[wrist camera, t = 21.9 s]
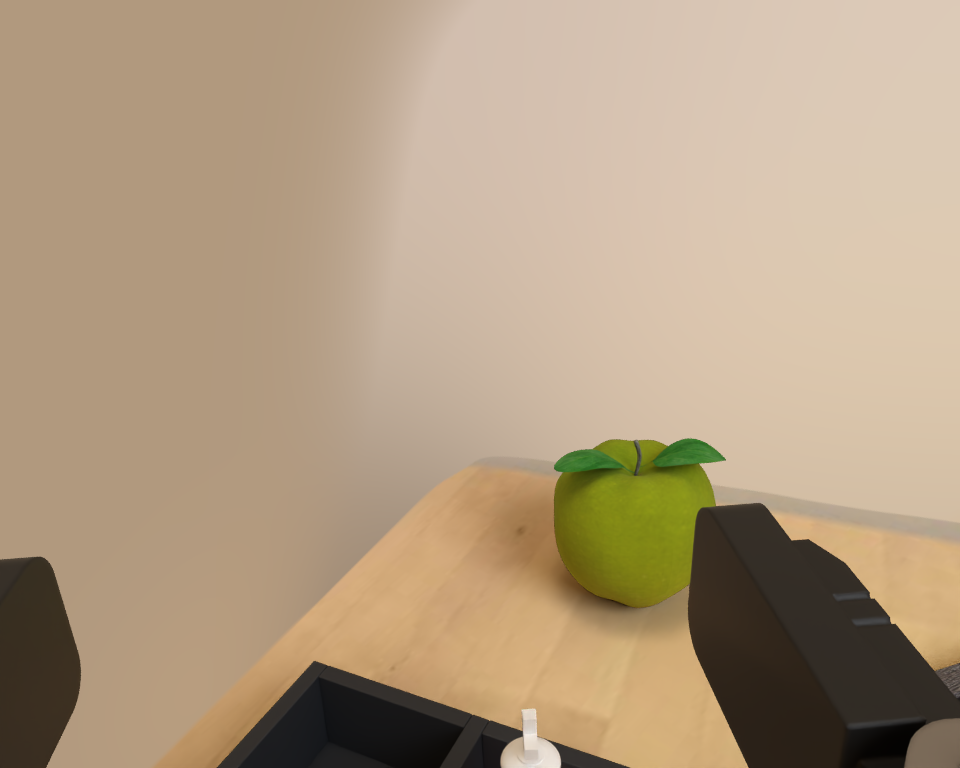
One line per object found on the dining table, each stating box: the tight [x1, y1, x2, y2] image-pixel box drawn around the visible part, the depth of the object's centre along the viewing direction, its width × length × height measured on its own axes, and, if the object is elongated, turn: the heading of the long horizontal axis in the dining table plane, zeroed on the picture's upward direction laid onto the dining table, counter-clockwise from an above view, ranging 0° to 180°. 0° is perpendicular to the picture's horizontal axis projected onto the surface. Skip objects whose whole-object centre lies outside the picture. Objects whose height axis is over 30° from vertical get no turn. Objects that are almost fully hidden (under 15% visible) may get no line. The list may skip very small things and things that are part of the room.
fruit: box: [554, 439, 726, 608], centre depth 47 cm, size 9×9×10 cm
